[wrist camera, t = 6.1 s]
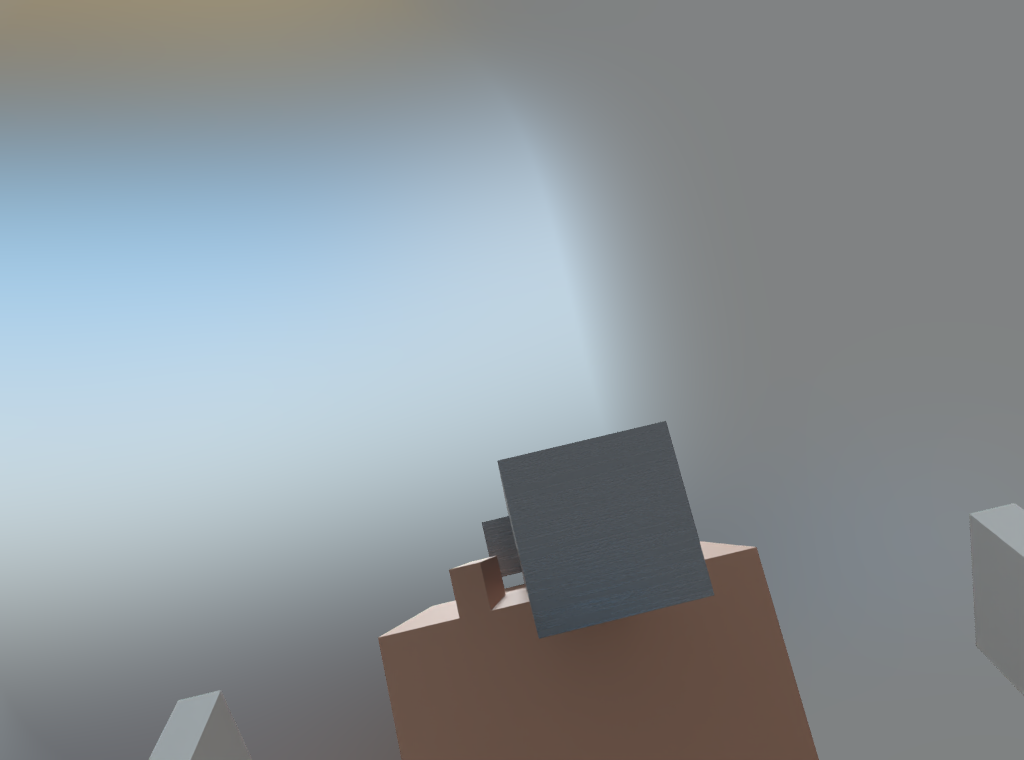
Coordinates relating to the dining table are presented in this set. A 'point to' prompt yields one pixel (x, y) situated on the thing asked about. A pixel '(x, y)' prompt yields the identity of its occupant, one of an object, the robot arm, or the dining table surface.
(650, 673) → the stand
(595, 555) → the t bar
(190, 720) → the robot arm
